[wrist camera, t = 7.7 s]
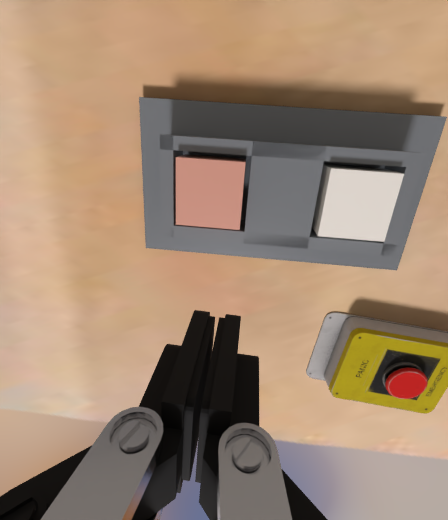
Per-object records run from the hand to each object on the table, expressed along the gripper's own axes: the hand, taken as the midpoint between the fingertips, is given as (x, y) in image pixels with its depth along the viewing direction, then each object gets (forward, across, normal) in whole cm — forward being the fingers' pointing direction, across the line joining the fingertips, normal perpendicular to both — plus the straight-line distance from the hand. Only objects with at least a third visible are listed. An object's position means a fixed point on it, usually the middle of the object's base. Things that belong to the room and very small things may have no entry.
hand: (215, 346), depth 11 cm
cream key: (+17, -8, -3) cm, 19 cm away
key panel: (+19, -3, -3) cm, 19 cm away
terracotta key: (+16, +3, -3) cm, 17 cm away
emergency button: (+20, -17, +14) cm, 30 cm away
